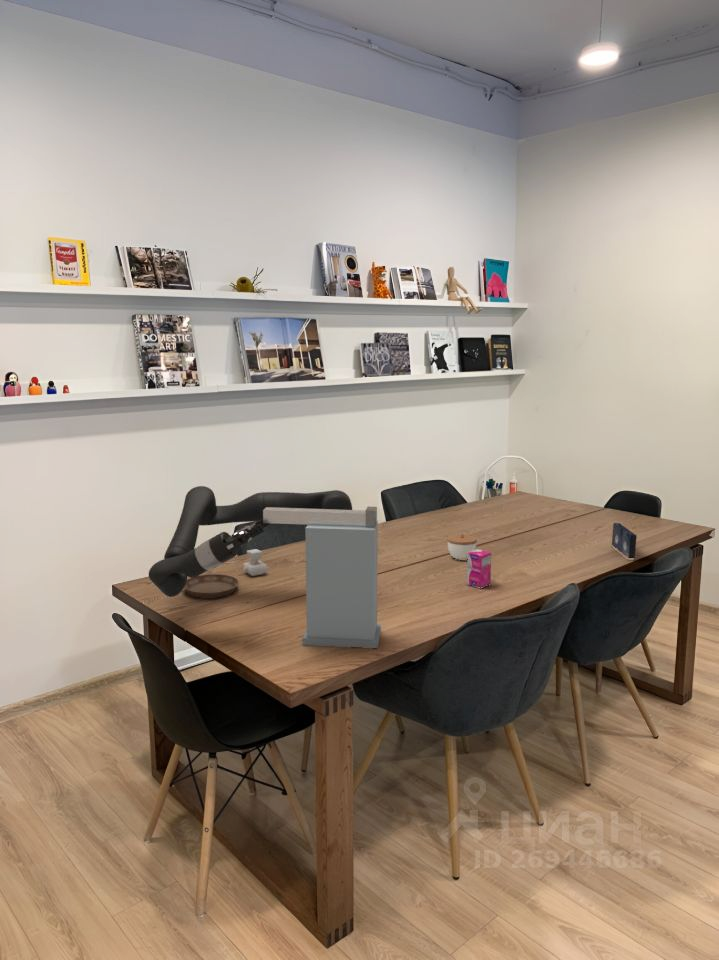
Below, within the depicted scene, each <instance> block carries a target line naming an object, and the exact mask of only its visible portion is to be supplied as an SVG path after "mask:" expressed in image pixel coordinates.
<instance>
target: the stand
mask: <svg viewBox="0 0 719 960" xmlns="http://www.w3.org/2000/svg"><path fill="white" fill-rule="evenodd" d="M378 526H379V521H378V520H377V524H376V526H375V527H362V526H334V525H306V527H305V528H304V529H305V583H306V584H305V595H306V596H305V600H306V604H305V605H306V608H305V610H306V614H305V615H306V630H305V632H304V634H303V636H302V638H301V639H302V640H301V641H302V646H310V647H311V646H312V647H313V646H315V647H331V646H334V647H333V648H337V647H338V648H351V647H362V648H361V649H372V648H377V649H378V648H379V647H378V646H379V641H380V638H379V637H381V632H382V624H380V623H379V624H378V563H379V562H378V559H379V557H378V545H379V541H378V539H379V538H378V537H379V536H378V535H379V527H378Z"/></svg>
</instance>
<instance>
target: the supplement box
mask: <svg viewBox="0 0 719 960" xmlns="http://www.w3.org/2000/svg"><path fill="white" fill-rule="evenodd" d="M466 564H467V566H466V567H467V569H466V573H467V574H466V585H467V584H469V585H472V586H471V587H473V586H477V587H480V588H481V587H484V586H486V585H489V584H490V585H491V574H492V552H490V551H486V550H482V549H480V548H479V549H478V548H476V549H475V550H474V551H471V552H468V560H467V563H466ZM469 585H468V586H469ZM484 588H485V587H484Z"/></svg>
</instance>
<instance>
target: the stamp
mask: <svg viewBox="0 0 719 960" xmlns="http://www.w3.org/2000/svg"><path fill="white" fill-rule="evenodd" d="M246 555H247V557H248V558H249V559H251V561H247V562H243V564H242V568H243V572H244V573H247V574H248V575H250V576H252V577H255V576H262V575H264V574H265V572H267V570H268V569H269V567H268V565H267V563H264V562H262V561H260V560H259V559H260V558H262V557H263V551H262V550H259V549H257V548H255V549H254V548H253V549H249V550H248V549H247V550H246Z"/></svg>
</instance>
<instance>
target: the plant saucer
mask: <svg viewBox="0 0 719 960" xmlns="http://www.w3.org/2000/svg"><path fill="white" fill-rule="evenodd" d="M239 583H240V582H239V580H238V579H237V577H234V576H231V575H227V574H218V573H217V574H216V573H215V574H214V573H212V574H211V573H210V574H209V573H208V574H201V575H199V576H197V577H195V578H190V577H188V578H187V582H186V585H185V587H184V590H185V591H186V592H187V593H188V594H189V595H190V596H192V597H194V596H195V598H198V597H201V599H215V597H218V598H221V597H222V596H223V597H225V595H226V596H229V595H230V594H231V593H232V594H233V592H234V591H235V590H236V588H237V587H238V586H239Z"/></svg>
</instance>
